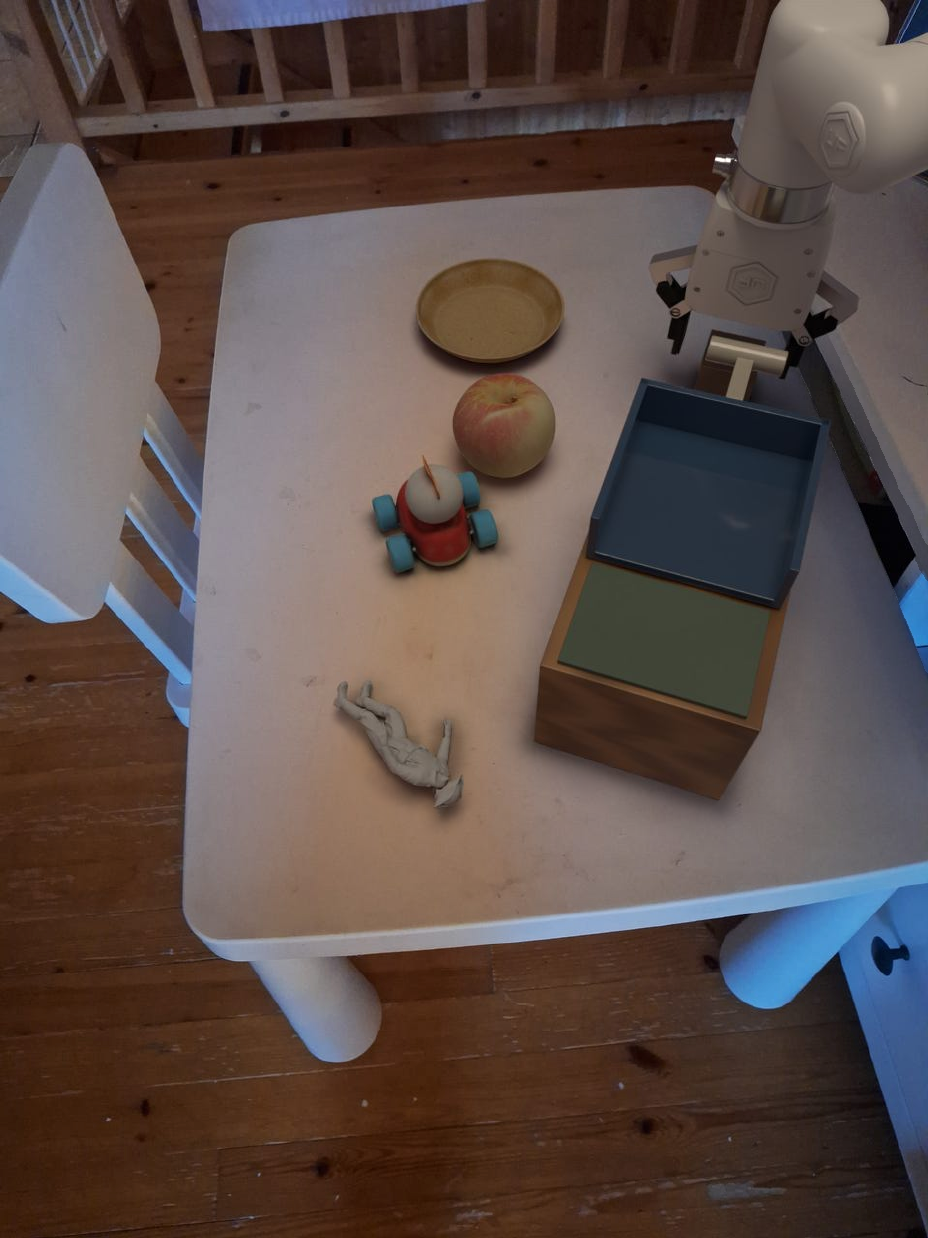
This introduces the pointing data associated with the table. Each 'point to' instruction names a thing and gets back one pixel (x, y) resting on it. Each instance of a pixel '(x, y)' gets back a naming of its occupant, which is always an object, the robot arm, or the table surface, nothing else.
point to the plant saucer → (489, 309)
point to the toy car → (434, 518)
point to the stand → (647, 710)
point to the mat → (666, 639)
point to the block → (722, 369)
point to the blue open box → (712, 484)
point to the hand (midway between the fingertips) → (730, 356)
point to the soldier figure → (403, 746)
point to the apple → (504, 425)
